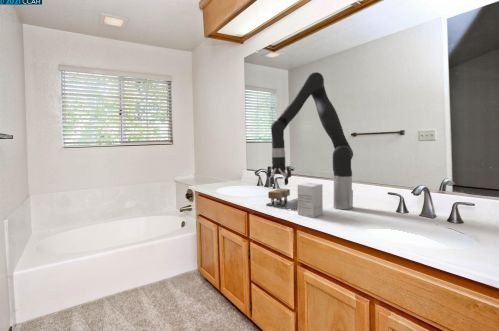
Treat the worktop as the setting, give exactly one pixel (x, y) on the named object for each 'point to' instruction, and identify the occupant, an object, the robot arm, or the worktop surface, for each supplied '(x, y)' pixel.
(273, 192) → the brown wooden block
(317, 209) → the supplement box
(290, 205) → the stand
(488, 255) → the worktop surface
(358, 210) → the worktop surface
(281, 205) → the peg base
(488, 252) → the worktop surface
